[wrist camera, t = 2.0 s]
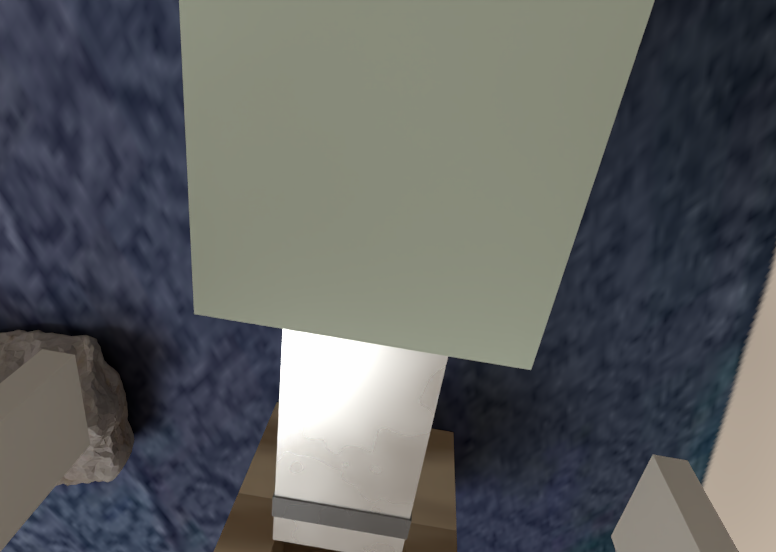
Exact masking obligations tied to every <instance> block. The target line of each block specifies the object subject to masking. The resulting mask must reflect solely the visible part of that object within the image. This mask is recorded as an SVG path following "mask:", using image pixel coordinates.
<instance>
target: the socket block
mask: <svg viewBox="0 0 776 552" xmlns="http://www.w3.org/2000/svg"><path fill="white" fill-rule="evenodd" d="M278 418H279V403H278V402H277V403H276V406H275V408H274V410H273V413H272V415H271V417H270V420H269V422H268V425H267V427H266V429H265V432H264V434H263V436H262V439H261V441H260V443H259V446H258V448H257V451H256V453H255V455H254V458H253V460H252V462H251V465H250V467H249V470H248V472H247V474H246V477H245V479H244V481H243V484H242V486H241V488H240V491H239V493H238V496H237V498H236V500H235V503H234V505H233V507H232V510H231V512H230V515H229V517H228V519H227V522H226V524H225V526H224V529H223V531H222V533H221V536H220V538H219V541H218V543H217V545H216V548H215V550H214V552H341V551H336V550H330V549H324V548H319V547H313V546H307V545H301V544H296V543H290V542H284V541H278V540H273V523H274V516H272V497H273V494H274V491H275V481H276V460H277V439H278ZM402 552H457V534H456V501H455V469H454V436H453V432H449V431H443V430H437V429H431V431H430V436H429V440H428V444H427V448H426V452H425V457H424V461H423V465H422V469H421V474H420V478H419V482H418V486H417V491H416V495H415V499H414V503H413V508H412V520H411V525H410V529H409V534H408V538H407V540H406V539H405V542H404V546H403V550H402Z"/></svg>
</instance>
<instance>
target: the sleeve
mask: <svg viewBox="0 0 776 552" xmlns="http://www.w3.org/2000/svg"><path fill="white" fill-rule="evenodd" d="M654 1H655V0H179V9H180V29H181V50H182V71H183V91H184V112H185V133H186V154H187V174H188V195H189V216H190V236H191V257H192V278H193V298H194V314H197V315H203V316H209V317H215V318H221V319H227V320H233V321H239V322H245V323H251V324H257V325H263V326H269V327H275V328H281V329H287V330H293V331H299V332H305V333H311V334H317V335H323V336H329V337H335V338H341V339H347V340H354V341H360V342H366V343H372V344H378V345H384V346H390V347H396V348H402V349H408V350H414V351H420V352H426V353H432V354H438V355H444V356H450V357H456V358H462V359H468V360H474V361H480V362H486V363H492V364H498V365H504V366H510V367H516V368H522V369H528V370H531V369H532V366H533V363H534V360H535V357H536V354H537V351H538V348H539V345H540V342H541V339H542V336H543V333H544V330H545V327H546V324H547V321H548V318H549V315H550V312H551V309H552V306H553V303H554V300H555V297H556V294H557V291H558V288H559V285H560V282H561V279H562V276H563V273H564V270H565V267H566V264H567V261H568V258H569V255H570V252H571V249H572V246H573V243H574V240H575V237H576V234H577V231H578V228H579V225H580V222H581V219H582V216H583V213H584V210H585V207H586V204H587V201H588V198H589V195H590V192H591V189H592V186H593V183H594V180H595V177H596V174H597V171H598V168H599V165H600V162H601V159H602V156H603V153H604V150H605V147H606V144H607V141H608V138H609V135H610V132H611V129H612V126H613V123H614V120H615V117H616V114H617V111H618V108H619V105H620V102H621V99H622V96H623V93H624V90H625V87H626V84H627V81H628V78H629V75H630V72H631V69H632V67H633V64H634V61H635V58H636V55H637V52H638V49H639V46H640V43H641V40H642V37H643V34H644V31H645V28H646V25H647V22H648V19H649V16H650V13H651V10H652V7H653V4H654Z"/></svg>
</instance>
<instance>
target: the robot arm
mask: <svg viewBox="0 0 776 552" xmlns="http://www.w3.org/2000/svg"><path fill="white" fill-rule="evenodd" d="M89 445H90V439H89V433H88V428H87V422H86V416H85V410H84V404H83V398H82V393H81V387H80V381H79V375H78V369H77V363H76V358H75V355H73V354H67V353H61V352H56V351H50V350H44V349H42V350H41V351H39V352H38V353H37V354H36V355H34V356H33V357H32V358H31V359H30V360H28V361H27V362H26V363H25V364H23V365H22V366H21V367H20V368H18V369H17V370H16V371H15V372H14V373H12V374H11V375H10V376H9V377H7V378H6V379H5V380H4V381H2V382H1V383H0V551H1V550H2V549H3V548H4V547H5V545H6V544H7V543H8V542H9V541H10V539H11V538H12V537H13V536H14V535H15V533H16V532H17V531H18V530H19V529H20V527H21V526H22V525H23V524H24V523H25V521H26V520H27V519H28V518H29V517H30V516H31V514H32V513H33V512H34V511H35V510H36V508H37V507H38V506H39V505H40V504H41V502H42V501H43V500H44V499H45V498H46V496H47V495H48V494H49V493H50V492H51V490H52V489H53V488H54V487H55V486H56V485H57V483H58V482H59V481H60V480H61V479H62V477H63V476H64V475H65V474H66V473H67V471H68V470H69V469H70V468H71V467H72V465H73V464H74V463H75V462H76V461H77V459H78V458H79V457H80V456H81V455H82V453H83V452H84V451H85V450H86V449H87V448H88V446H89ZM611 537H612V540H613V543H614V546H615V549H616V552H739V551H738V550H737V548H736V546H735V544H734V543H733V541H732V539H731V537H730V536H729V534H728V532H727V530H726V528H725V527H724V525H723V523H722V521H721V519H720V518H719V516H718V514H717V512H716V511H715V509H714V507H713V505H712V503H711V502H710V500H709V498H708V496H707V495H706V493H705V491H704V489H703V487H702V486H701V484H700V482H699V480H698V479H697V477H696V475H695V473H694V471H693V470H692V468H691V466H690V464H689V463H688V461H687V460H681V459H675V458H669V457H664V456H658V455H652V457H651V459H650V461H649V463H648V465H647V467H646V469H645V471H644V473H643V475H642V477H641V479H640V481H639V483H638V484H637V486H636V488H635V490H634V492H633V494H632V496H631V498H630V500H629V502H628V504H627V506H626V508H625V510H624V512H623V514H622V516H621V518H620V520H619V522H618V524H617V526H616V528H615V530H614V532H613V534H612V536H611Z"/></svg>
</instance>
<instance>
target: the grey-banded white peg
mask: <svg viewBox="0 0 776 552" xmlns="http://www.w3.org/2000/svg"><path fill="white" fill-rule="evenodd" d="M447 359H448V356H444V355H438V354H432V353H426V352H420V351H414V350H408V349H402V348H396V347H390V346H384V345H378V344H372V343H366V342H360V341H354V340H347V339H341V338H335V337H329V336H323V335H317V334H311V333H305V332H299V331H293V330H287V329H283V334H282V355H281V376H280V397H279V418H278V439H277V460H276V481H275V491H274V494H273V497H272V516H274V523H273V540H278V541H284V542H290V543H296V544H301V545H307V546H313V547H319V548H324V549H330V550H336V551H341V552H402V550H403V546H404V542H405V539H406V540H407V538H408V534H409V529H410V525H411V520H412V508H413V503H414V499H415V495H416V491H417V486H418V482H419V478H420V474H421V469H422V465H423V461H424V457H425V452H426V448H427V444H428V440H429V436H430V431H431V427H432V423H433V419H434V414H435V410H436V406H437V402H438V397H439V393H440V389H441V385H442V380H443V376H444V372H445V368H446V363H447Z"/></svg>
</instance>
